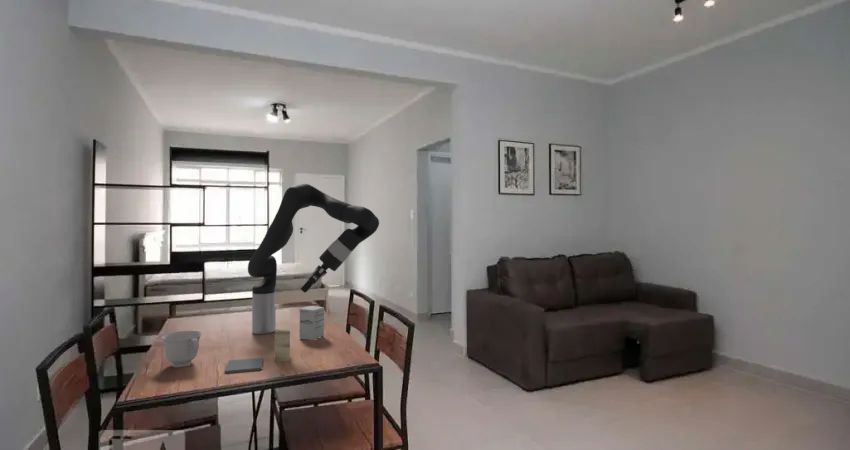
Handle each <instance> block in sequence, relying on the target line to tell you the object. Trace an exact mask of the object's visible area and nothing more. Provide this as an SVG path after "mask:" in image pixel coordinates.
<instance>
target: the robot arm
mask: <svg viewBox="0 0 850 450" xmlns="http://www.w3.org/2000/svg"><path fill="white" fill-rule="evenodd" d="M310 206H312V207H317V208H320V209H322V210H323V211H325V213H326V214H327V215H328V216H329V217H331V218H332V219H335V220H337V221H339V222H343V223H345V224H353V225H356V226H355V228H352V229H351V228H346V229H345V230H344V231H343V232H342V233H341V234H340V235H339V236H338V237H337V238H336V239H335V240H334V241H333V242H332V243H331V244H330V245H329V246H328V247H327V248H326V249H325V250H324V252H323V253H321V255H320V256H319V257H318V259H319V260H320V261H321V263H322V264H320V265H317V266H316V267H315V268H314V269H315V270H314V271H313V272H311V274H310V277H309V278H308V279H307V281H306V282H305V283H304V284H303V285H302V287H300V290H301V291H302V292H303V293H307V292H308V291H309V290H310V289H311V288H312V286H314V285H315V284H316V283H317V282H319V281H320V280H321V279H322V278H323V277H324V276H325V275H327V274H328V272H327V270H328V269H330V271H333V272H336V271H337V270H338V269H339V268H340V266H342V264H343V263H344V262H345V261H346V260H347V259H348V258H349V256H350V255H351V254H352V252H353V251H354V250H355V249H356V248H357V247H358V245H359V244H361V243H362V242H364V241H365V240H366V239H368V238H369V237H371V236H372V235H373V234H374V233H376V231H377V230H378V228H379V226H380V219H379V218H378V217H377V216H376V215H375V213H374V212H373V211H372V210H371V209H369V208H367V207H365V206H361V205H353V204H351V203H347V202H345V201H342V200H339V199H336V198H335V197H332V196H330V195H328V194H326V193H324V192H323V191H321V190H319V189H318V188H316V187H315V186H313V185H310V184H309V183H301V184H295V185H292V186H289V187H288V188H287V189H286V190H285V192H284V193H283V196H282V200H281V203H280V205H279V207H278V209H277V211H276V214H275V215H274V218H273V220H272V222H271V224H270V225H269V227H268V229H267V231H266V232H265V235H264V238H263V239H262V241H261V243H260V244H259V246H258V247H257V249H256V250H255V251H254V253H253V254H252V255H251V257H250V259H249V261H248V264H247V272H248V275H250V277H252V278H263V279H262V280H261V281H260V282H259V283H257V284H255V285H254V286H252V289H251V292H252V293H251V295H252V297H251V298H252V300H251V301H252V306H251V307H252V310H251V311H252V313H251V314H252V315H251V319H252V320H251V324H252V325H251V332H252V334H253V335H266V334H271V333H275V330H276V304H275V303H276V302H275V301H276V300H275V299H276V298H275V297H276V296H275V295H276V291H275V290H276V286H277V272H278V269H277V268H278V265H277V259H276V258H275V256H273V255H275V254H276V253H277V252H279V251H280V250H281V249H283V248H284V247H285V246H286V245H287V244H288V242H289V240H290V239H291V237H292V235H293V232H294V225H293V219H294V217H295V216H296V214H297V213H298V212H299V211H300V210H301V209H305V208H309V207H310Z"/></svg>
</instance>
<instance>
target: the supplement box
mask: <svg viewBox="0 0 850 450" xmlns="http://www.w3.org/2000/svg"><path fill="white" fill-rule="evenodd" d="M324 331H325V307H324V306H323V307H322V306H314V305H309V306H305V307H301V308H299V336H298V337H299V338H300V340H306V339H310V340H309V341H312V340H315V339H317V338H319V337H322V336H325V334H324V333H325V332H324ZM322 338H323V337H322ZM317 340H318V339H317ZM315 341H316V340H315Z"/></svg>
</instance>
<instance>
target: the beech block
mask: <svg viewBox="0 0 850 450" xmlns="http://www.w3.org/2000/svg"><path fill="white" fill-rule="evenodd" d="M279 361H280V362H290V361H291V328H280V329H275V331H274V363H277V362H278V363H279Z"/></svg>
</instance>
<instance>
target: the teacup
mask: <svg viewBox="0 0 850 450" xmlns="http://www.w3.org/2000/svg"><path fill="white" fill-rule="evenodd" d="M202 335H203V333H202V332H201V331H197V330H181V331H174V332H169V333H167V334H164V335H162V336H161V340H162V341H163V343H164V350H165V356H166V357H165V358H166V359H167V360H168V362H170V363H172V365H171V366H172V367H173V368H184V367H188V366H190V365H191V364H193V363H192V361H193V360H194V359H195V358H196V357H197V355H198V351H199V346H200V338H201V336H202Z"/></svg>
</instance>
